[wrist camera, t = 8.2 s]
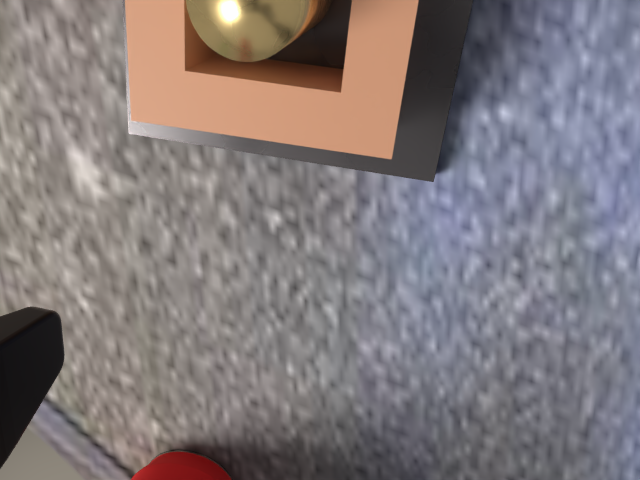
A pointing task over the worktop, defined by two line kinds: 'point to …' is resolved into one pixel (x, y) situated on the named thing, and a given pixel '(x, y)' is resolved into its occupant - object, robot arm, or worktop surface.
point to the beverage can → (182, 468)
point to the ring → (272, 81)
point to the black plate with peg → (329, 51)
